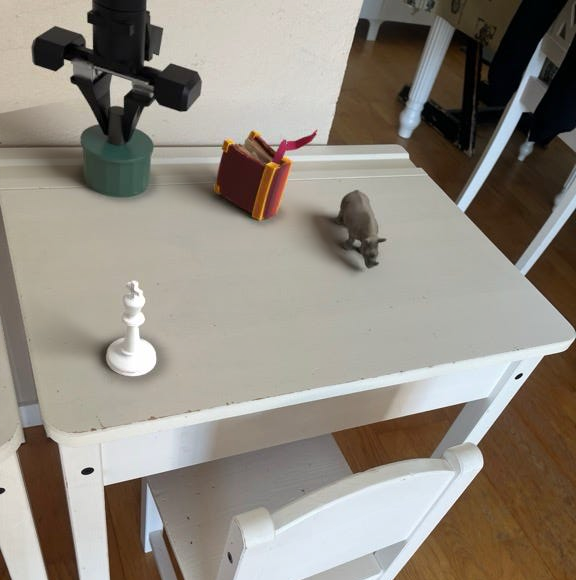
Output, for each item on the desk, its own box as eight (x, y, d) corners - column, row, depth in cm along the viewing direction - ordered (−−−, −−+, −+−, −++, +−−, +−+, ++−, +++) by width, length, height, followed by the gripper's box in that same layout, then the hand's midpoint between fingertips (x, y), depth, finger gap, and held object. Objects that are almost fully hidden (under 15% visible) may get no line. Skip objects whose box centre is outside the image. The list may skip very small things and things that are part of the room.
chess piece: (130, 384, 61) (133, 308, 53) (95, 356, 62) (93, 279, 55) (166, 360, 64) (174, 285, 56) (132, 334, 65) (135, 257, 58)
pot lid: (66, 139, 79) (64, 100, 75) (124, 125, 84) (125, 88, 80) (109, 175, 76) (110, 135, 72) (167, 157, 81) (170, 120, 77)
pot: (71, 171, 82) (69, 136, 78) (123, 157, 87) (124, 122, 83) (110, 204, 79) (110, 168, 75) (162, 187, 84) (164, 153, 80)
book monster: (206, 189, 86) (270, 177, 93) (247, 227, 82) (310, 210, 89) (221, 115, 78) (290, 108, 85) (266, 153, 75) (333, 142, 82)
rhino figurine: (354, 281, 79) (368, 243, 75) (329, 218, 88) (341, 180, 84) (383, 282, 80) (399, 245, 76) (356, 220, 89) (369, 182, 85)
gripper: (223, 7, 73) (207, 133, 84) (71, -42, 73) (76, 91, 84) (192, 37, 65) (179, 171, 76) (22, -18, 65) (35, 124, 76)
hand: (117, 137), depth 79 cm, fingers closed on pot lid, 2 cm apart
